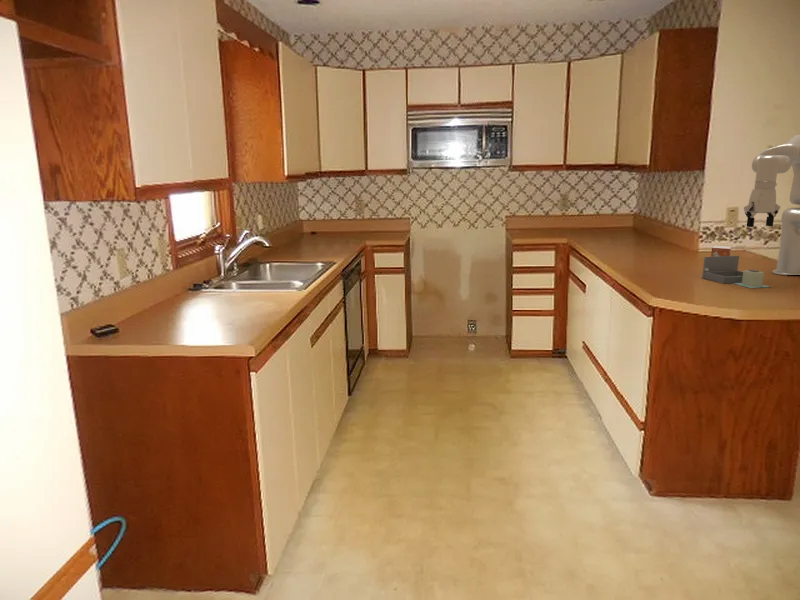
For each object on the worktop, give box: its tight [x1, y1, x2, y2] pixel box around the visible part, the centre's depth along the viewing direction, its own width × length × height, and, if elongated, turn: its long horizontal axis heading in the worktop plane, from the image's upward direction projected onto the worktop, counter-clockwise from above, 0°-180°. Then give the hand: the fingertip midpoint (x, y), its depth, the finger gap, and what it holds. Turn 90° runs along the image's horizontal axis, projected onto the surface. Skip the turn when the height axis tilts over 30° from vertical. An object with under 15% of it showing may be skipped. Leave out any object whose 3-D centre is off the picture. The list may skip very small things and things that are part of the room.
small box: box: [710, 245, 732, 257], centre depth 288 cm, size 8×6×13 cm
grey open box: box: [701, 254, 743, 285], centre depth 273 cm, size 18×15×10 cm
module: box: [742, 269, 765, 287], centre depth 261 cm, size 5×6×6 cm
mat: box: [732, 283, 771, 289], centre depth 262 cm, size 10×10×1 cm
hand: (759, 226), depth 256 cm, fingers open, 9 cm apart
